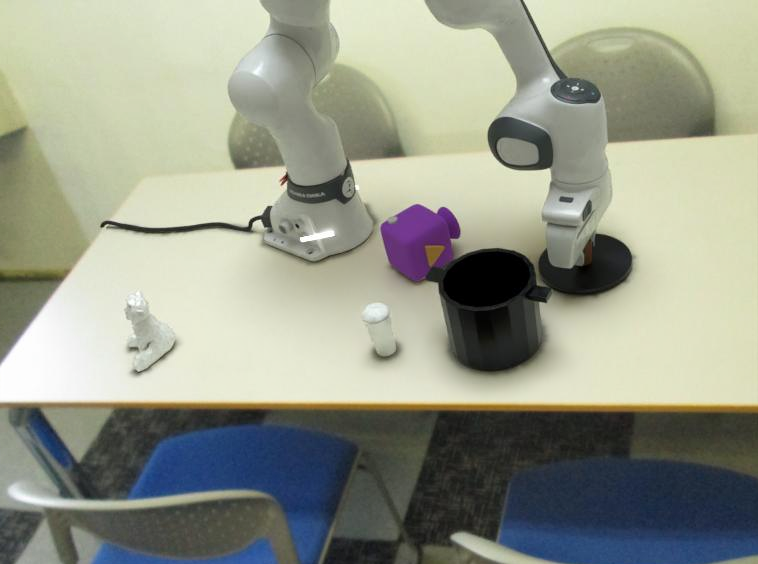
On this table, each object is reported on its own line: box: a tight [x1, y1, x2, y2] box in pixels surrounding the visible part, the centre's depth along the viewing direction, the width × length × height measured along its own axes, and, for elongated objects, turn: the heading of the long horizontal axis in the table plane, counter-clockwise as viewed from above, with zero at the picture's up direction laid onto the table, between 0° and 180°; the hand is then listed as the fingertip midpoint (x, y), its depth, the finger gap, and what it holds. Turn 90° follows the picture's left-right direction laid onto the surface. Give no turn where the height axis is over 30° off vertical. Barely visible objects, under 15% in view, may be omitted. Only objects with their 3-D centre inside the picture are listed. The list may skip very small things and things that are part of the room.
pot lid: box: [537, 233, 633, 294], centre depth 135 cm, size 16×16×5 cm
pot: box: [425, 247, 553, 372], centre depth 124 cm, size 15×20×12 cm
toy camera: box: [379, 203, 462, 282], centre depth 143 cm, size 11×14×10 cm
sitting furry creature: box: [123, 289, 176, 373], centre depth 139 cm, size 10×9×12 cm
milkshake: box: [361, 302, 397, 357], centre depth 128 cm, size 4×5×10 cm
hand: (584, 255), depth 136 cm, fingers closed on pot lid, 3 cm apart
